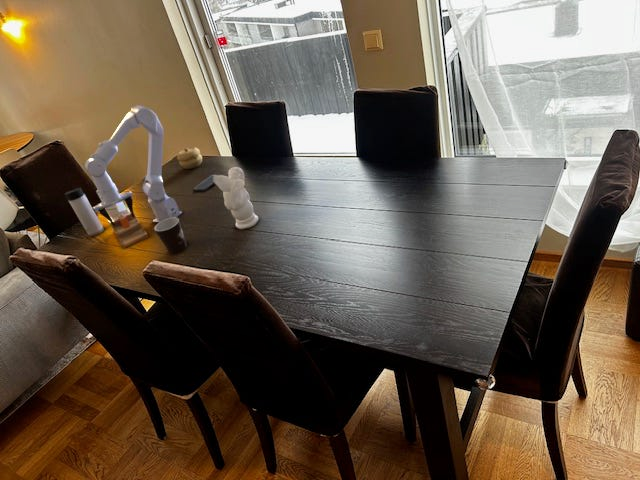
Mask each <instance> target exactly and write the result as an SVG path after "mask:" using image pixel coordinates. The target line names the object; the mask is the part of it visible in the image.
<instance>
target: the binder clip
mask: <svg viewBox="0 0 640 480" xmlns="http://www.w3.org/2000/svg"><path fill="white" fill-rule="evenodd" d="M121 214H122V213H121ZM118 218H119V220H120V222H121V224H122V226H123V227H124V229H126V228H128V227H130V224H129V222H128V220H127V218H126V217H125V215H124V214H122V215H121V216H119V215H118Z"/></svg>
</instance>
